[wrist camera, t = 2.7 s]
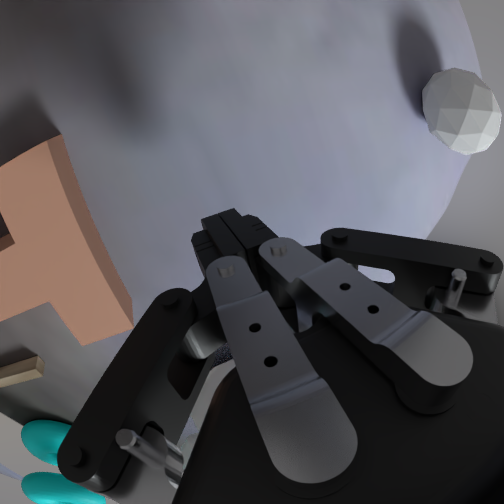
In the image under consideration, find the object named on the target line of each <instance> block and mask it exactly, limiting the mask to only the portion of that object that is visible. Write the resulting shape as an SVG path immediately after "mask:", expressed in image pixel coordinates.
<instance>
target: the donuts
mask: <svg viewBox="0 0 504 504" xmlns="http://www.w3.org/2000/svg"><path fill="white" fill-rule="evenodd" d="M70 427H71V425H68V424H65V423H62V422H57V421H52V420H34V421H31V422H29V423H27V424H25V425H24V427H23V428H22V431H21V438H22V441H23V443H24V445H25V447H26V448H27V449H28V450H29V451H30V452H31V453H32V454H33V455H34V456H36V457H37V458H39V459H41V460H42V461H44V462H47V463H49V464H52V465H56V466H58V464H57V452H58V449H59V447H60V445H61V443H62V441H63V439H64V438H65V436H66V434H67V433H68V431H69V429H70ZM21 487H22V490H23V492H24V494H25V495H26V496H27V497H28V498H29V499H30V500H32V501H33V502H35V503H37V504H106V500H105V497H104V496H101V495H99V494H96V493H93V492H91V491H89V490H88V489H86V488H85V487H82V486H80V485H78V484H76V483H73V482H71V481H69V480H68V479H66V478H65V477H64V476H63V475H62V474H58V473H51V472H35V473H31V474H28V475H26V476H25V477H24V478H23V480H22V483H21Z"/></svg>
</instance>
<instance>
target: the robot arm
mask: <svg viewBox="0 0 504 504" xmlns="http://www.w3.org/2000/svg"><path fill="white" fill-rule="evenodd" d="M201 223H202V227H203V230H202V231H199V232H196V233H194V234H193V236H192V239H191V242H192V245H193V248H194V251H195V254H196V257H197V260H198V263H199V266H200V269H201V271H202V273H203V276H204V278H205V279H204V281H203V282H202V284H201V285H200V286H199V287H198V288H196V289H195V290H193V291H192V292H190V291H188V290H187V289H184V288H174V289H170V290H167V291H165V292H163V293H161V294H160V295H158V296H157V297H156V298H155V300H154V301H153V302H152V304H151V305H150V306H149V308H148V309H147V311H146V312H145V313H144V315H143V316H142V318H141V319H140V321H139V322H138V324H137V325H136V326H135V328H134V329H133V331H132V332H131V334H130V335H129V337H128V338H127V340H126V341H125V343H124V344H123V345H122V347H121V348H120V350H119V351H118V353H117V354H116V356H115V357H114V359H113V360H112V362H111V364H110V365H109V367H108V368H107V370H106V371H105V373H104V374H103V376H102V377H101V379H100V380H99V382H98V384H97V385H96V387H95V388H94V390H93V391H92V393H91V395H90V396H89V398H88V399H87V401H86V403H85V404H84V406H83V408H82V409H81V411H80V412H79V414H78V416H77V417H76V419H75V421H74V422H73V424H72V426H71V427H70V429H69V431H68V433H67V434H66V436H65V438H64V439H63V441H62V443H61V445H60V447H59V449H58V452H57V464H58V468H59V470H60V472H61V473H62V475H63V476H64V477H65V478H66V479H68V480H69V481H71V482H73V483H76V484H78V485H80V486H82V487H85V488H86V489H88V490H89V491H91V492H93V493H96V494H99V495H101V496H104V497H107V498H109V499H112V500H114V501H116V502H118V503H119V504H504V327H502V326H500V325H498V321H497V313H496V305H495V298H494V291H495V289H496V287H497V284H498V281H499V279H500V276H501V273H502V270H503V263H502V261H501V260H500V258H499V257H498V256H496V255H495V254H493V253H492V252H489V251H486V250H482V249H476V248H470V247H465V246H459V245H453V244H448V243H441V242H436V241H430V240H423V239H417V238H411V237H404V236H397V235H391V234H384V233H377V232H370V231H362V230H355V229H347V228H334V229H330V230H327V231H325V232H324V233H323V234H322V235H321V244H317V245H311V246H302V245H300V244H299V243H298V242H296V241H295V240H293V239H291V238H285V237H280V238H279V237H278V236H277V235H276V234H275V233H274V232H273V231H272V230H271V229H270V228H268V227H267V226H266V225H265V224H264V223H263V222H262V221H261V220H260V219H259V218H258V217H255V216H252V215H249V214H248V215H245V216H241V215H240V214H239V213H238V212H237V211H236V210H235V209H234V208H232V209H229V210H226V211H223V212H220V213H218V214H215V215H212V216H209V217H206V218H203V219H201ZM358 265H362V266H368V267H374V268H380V269H385V270H389V271H391V272H392V273H393V274H394V276H395V281H394V282H392V283H383V282H377V281H372V280H370V279H369V278H368V277H366V276H365V275H363V274H362V273H361V272H359V271H358ZM226 342H228V345H229V348H230V351H231V354H232V357H233V360H234V362H235V365H236V366H235V367H234V368H233V369H232V370H231V371H229V373H228V374H227V375H226V376H225V377H224V378H223V379H222V381H221V382H220V384H219V385H218V387H217V388H216V390H215V392H214V394H213V397H212V400H211V402H210V405H209V407H208V410H207V413H206V415H205V418H204V421H203V423H202V426H201V429H200V431H199V434H198V436H197V439H196V442H195V444H194V447H193V450H192V452H191V455H190V457H189V460H188V463H187V465H186V468H185V470H184V473H183V476H182V470H183V466H184V458H183V455H182V452H181V451H180V449H179V448H178V447H177V446H176V445H177V442H178V440H179V438H180V436H181V434H182V432H183V429H184V427H185V425H186V423H187V421H188V418H189V416H190V414H191V412H192V409H193V407H194V405H195V403H196V401H197V398H198V396H199V394H200V392H201V390H202V387H203V385H204V383H205V381H206V378H207V376H208V374H209V372H210V369H211V367H212V365H213V363H214V361H215V358H216V350H217V349H218V348H220V347H221V346H222V345H224V344H225V343H226ZM181 476H182V477H181Z"/></svg>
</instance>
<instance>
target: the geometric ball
mask: <svg viewBox="0 0 504 504" xmlns="http://www.w3.org/2000/svg"><path fill="white" fill-rule="evenodd" d="M422 99H423V112H424V115H425V118H426V121H427V124H428V128H429V131H430V133H431V134H432V135H433V136H435V137H436V138H437V139H438V140H440V141H441V142H442V143H443V144H445V145H446V146H447V147H448V148H449V149H451V150H454V151H457V152H459V153H462V154H464V155H469V154H473V153H477V152H481V151H485V150H486V149H487V148H488V147H489V146H490V145H491V143H492V142H493V141H494V140H495V138H496V137H497V135H498V134H499V128H500V122H501V115H502V113H501V110H500V108H499V106H498V103H497V101H496V99H495V97H494V95H493V92H492V91H491V89H490V88H489V87H488V86H487V85H486V84H485V83H484V82H483V81H482V80H481V79H480V78H479V77H478V76H477V75H476V74H475V73H473V72H469V71H465V70H461V69H457V68H451V69H448V70H444V71H441V72H437V73H434V74H433V76H432V77H431V79H430V80H429V81H428V83H427V84H426V86H425V87H424V89H423V90H422Z"/></svg>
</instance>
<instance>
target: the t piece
mask: <svg viewBox="0 0 504 504" xmlns="http://www.w3.org/2000/svg"><path fill="white" fill-rule="evenodd" d="M0 212H1V214H2V217H3V219H4V221H5V223H6V225H7V227H8V230H9V232H10V233H9V234H7V235H5V236H3V237H2V238H0V322H1V321H3V320H5V319H8V318H10V317H12V316H15V315H17V314H19V313H22V312H24V311H26V310H29V309H31V308H34V307H36V306H39V305H41V304H43V303H46V302H48V301H50V303H51V304H52V306H53V307H54V309H55V310H56V312H57V313H58V314H59V316H60V317H61V319H62V320H63V321H64V323H65V324H66V325H67V327H68V328H69V329H70V331H71V332H72V333H73V335H74V336H75V337H76V339H77V340H78V341H79V342H80V344H81V345H82V346H84V345H87V344H90V343H93V342H96V341H99V340H102V339H105V338H107V337H110V336H113V335H116V334H119V333H122V332H125V331H128V330H130V329H133V328H134V323H133V311H132V299H131V297H130V296H129V294H128V292H127V290H126V288H125V286H124V284H123V283H122V281H121V279H120V277H119V275H118V273H117V271H116V269H115V267H114V265H113V263H112V261H111V259H110V257H109V255H108V253H107V250H106V248H105V246H104V244H103V242H102V240H101V237H100V235H99V233H98V231H97V229H96V226H95V224H94V222H93V219H92V217H91V215H90V212H89V210H88V207H87V205H86V202H85V200H84V197H83V195H82V192H81V190H80V187H79V184H78V182H77V179H76V176H75V173H74V171H73V168H72V165H71V162H70V159H69V156H68V153H67V150H66V147H65V143H64V140H63V137H62V134H61V135H58V136H56V137H53V138H51V139H49V140H47V141H45V142H43V143H41V144H39V145H37V146H35V147H33V148H31V149H30V150H28V151H26V152H24V153H23V154H21V155H19V156H17V157H16V158H14V159H12V160H11V161H9V162H7V163H6V164H4V165H3V166H1V167H0Z"/></svg>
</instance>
